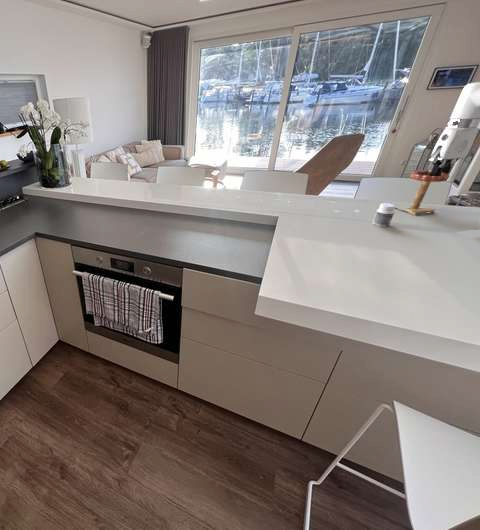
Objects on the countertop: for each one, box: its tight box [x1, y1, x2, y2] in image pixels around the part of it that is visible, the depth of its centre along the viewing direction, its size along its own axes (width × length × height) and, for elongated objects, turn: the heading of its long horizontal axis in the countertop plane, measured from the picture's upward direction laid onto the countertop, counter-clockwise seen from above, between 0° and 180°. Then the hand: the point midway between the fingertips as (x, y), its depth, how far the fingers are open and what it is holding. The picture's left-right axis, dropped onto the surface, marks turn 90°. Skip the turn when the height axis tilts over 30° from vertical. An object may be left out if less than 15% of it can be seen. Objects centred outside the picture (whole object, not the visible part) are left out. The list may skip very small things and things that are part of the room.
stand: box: [406, 181, 436, 216], centre depth 112 cm, size 8×8×13 cm
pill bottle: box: [371, 202, 396, 228], centre depth 103 cm, size 5×5×8 cm
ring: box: [409, 169, 450, 183], centre depth 108 cm, size 10×10×2 cm
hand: (437, 176), depth 109 cm, fingers closed on ring, 2 cm apart
